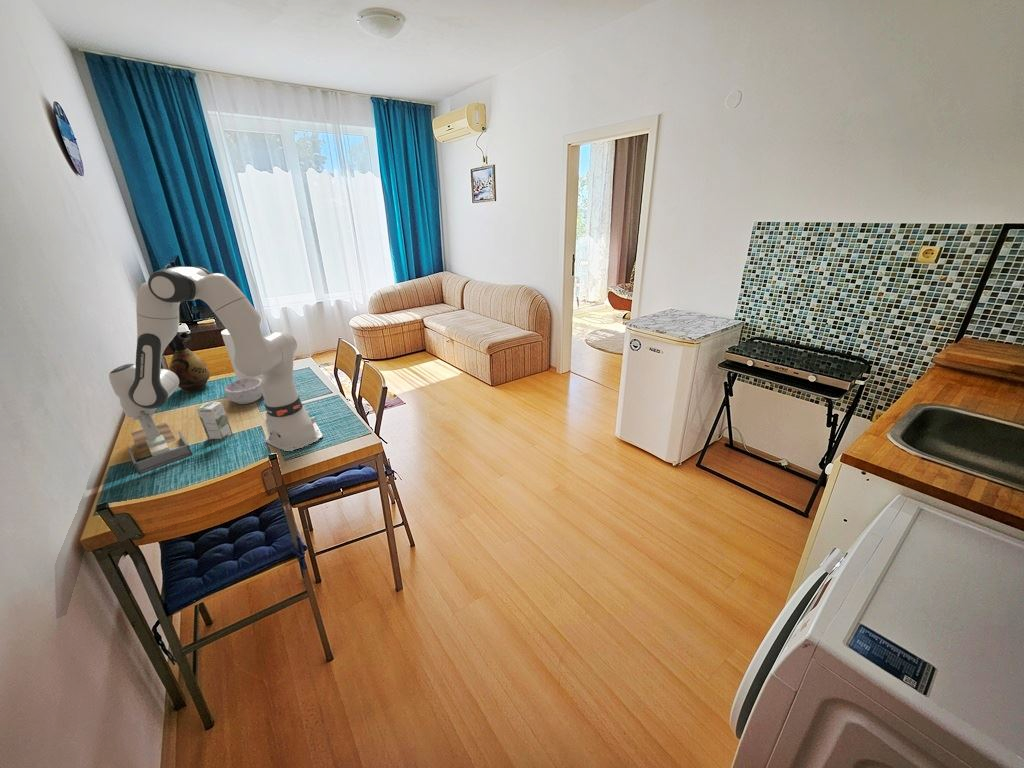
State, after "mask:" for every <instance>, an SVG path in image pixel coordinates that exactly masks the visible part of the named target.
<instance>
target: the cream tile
mask: <svg viewBox="0 0 1024 768" xmlns="http://www.w3.org/2000/svg"><path fill="white" fill-rule="evenodd" d="M148 450H149V452H150V455H151V457H153V456H156V455H159V454H162V453H165V452H168V451H171V450H170V448H169V446H168V443H166V442H165V443H162V444H159V445H156V446H153V447H150V448H149V449H148Z"/></svg>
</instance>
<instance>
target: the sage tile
mask: <svg viewBox="0 0 1024 768" xmlns="http://www.w3.org/2000/svg"><path fill="white" fill-rule="evenodd" d="M146 442H147V444H148V447H149V448H150V447H153V446H156V445H159V444H162V443H165V442H166V441H165V439H164V437H163V435H160V436H159V437H156V438H153V439H150V440H149V439H148V440H146Z"/></svg>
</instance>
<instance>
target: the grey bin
mask: <svg viewBox="0 0 1024 768" xmlns="http://www.w3.org/2000/svg"><path fill="white" fill-rule="evenodd" d="M177 431H178V430H177ZM178 435H179V437H180V439H181V441H182V443H183V444H184V445H181V446H180V447H176V448H174V449H171V450H170V451H167V452H164V453H161V454H158V455H155V456H151V457H147V458H146V459H142V460H140V461H137V460H136V457H135V454H134V451H132V448H131V447H127V449H128V452H129V455H130V458H131V461H132V463H133V466H134V468H135V470H136V472H137V474H138V475H139V476H141V475H143V474H147V473H148V472H151V471H154V470H156V469H158V468H159V469H160V468H162V467H165V466H167V465H169V464H170V465H171V464H173V463H176V462H179V461H181V460H184V459H186V458H188V457H191V456H194V455H193V453H192V450H191V448H190V446H189V444H188V441H187V440H186V439H185V437H184V435H183V433H181V430H179V431H178Z"/></svg>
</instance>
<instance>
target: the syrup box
mask: <svg viewBox="0 0 1024 768" xmlns="http://www.w3.org/2000/svg"><path fill="white" fill-rule="evenodd" d="M196 411H197V414H198V415H199V416H198V417H199V419H200V421H201V425H202V427H203V429H204V432H205V434H206V437H207V439H209V440H211V439H212V440H213V439H214V440H216V439H218V440H219V439H221V440H222V439H223V438H225V437H226V436H228V437H231V435H233V431H232V428H231V425H230V423H229V420H228V416H227V414H226V411H225V408H224V406H223V403H222V402H219V401H207V402H206V403H204V404H203V405H201V406H200V407H198V408H197V409H196Z"/></svg>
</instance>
